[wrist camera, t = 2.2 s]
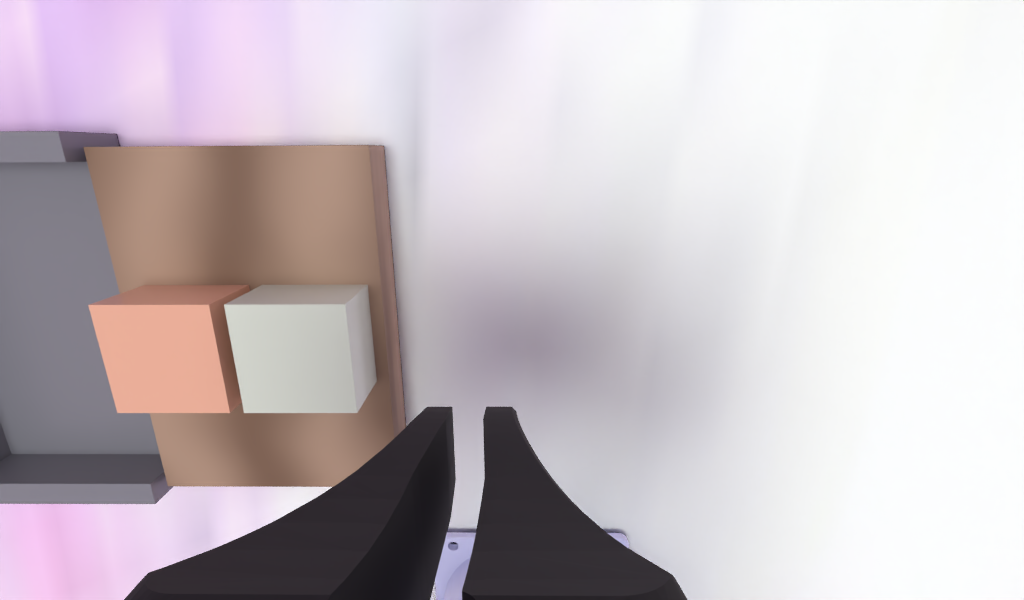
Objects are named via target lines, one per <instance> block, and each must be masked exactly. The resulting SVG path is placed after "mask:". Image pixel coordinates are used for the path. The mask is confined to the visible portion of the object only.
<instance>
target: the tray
mask: <svg viewBox="0 0 1024 600" xmlns="http://www.w3.org/2000/svg"><path fill="white" fill-rule="evenodd" d="M83 147H119V143H118V138H117V134H106V133H85V132H64V131H16V132H0V504H156V503H157V502H158V501H159V500H160V499H161V498H162V497H163V496H164V495H165V494H166V493H167V492H168V491H169V490H170V489H171V488H172V487H173V486H168V485H167V481H166V477H165V473H164V469H163V465H162V461H161V457H160V453H159V449H158V445H157V440H156V436H155V432H154V428H153V424H152V420H151V416H150V413H117V409H116V406H115V402H114V398H113V395H112V391H111V387H110V384H109V380H108V376H107V373H106V369H105V365H104V361H103V358H102V354H101V350H100V347H99V343H98V339H97V336H96V332H95V328H94V325H93V321H92V317H91V314H90V310H89V306H88V305H90V304H92V303H95V302H98V301H101V300H104V299H107V298H109V297H112V296H115V295H118V294H120V292H119V288H118V284H117V280H116V276H115V272H114V268H113V264H112V260H111V256H110V252H109V248H108V244H107V240H106V236H105V232H104V228H103V224H102V220H101V216H100V212H99V208H98V204H97V200H96V196H95V192H94V188H93V184H92V180H91V176H90V172H89V168H88V164H87V160H86V156H85V152H84V148H83Z"/></svg>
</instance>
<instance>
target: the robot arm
mask: <svg viewBox="0 0 1024 600" xmlns="http://www.w3.org/2000/svg"><path fill="white" fill-rule="evenodd" d="M483 422H484V461H485V482H484V488H483V495H482V502H481V508H480V513H479V519H478V525H477V530H476V533H466V532H447V530H448V526H449V522H450V518H451V511H452V504H453V496H454V487H455V457H454V436H453V414H452V407H427V408H425V409H424V410H423V411H422V412H421V413H420V414H419V415H418V416H417V417H416V418H415V419H414V420H413V421H412V422H411V423H410V424H409V425H408V426H407V427H406V428H405V429H404V430H403V431H401V432H400V433H399V434H398V435H397V436H396V437H395V438H394V439H393V440H392V441H391V442H390V443H389V444H388V445H386V446H385V447H384V448H383V449H382V450H381V451H380V452H378V453H377V454H376V455H375V456H373V457H372V458H371V459H370V460H369V461H367V462H366V463H365V464H364V465H363V466H361V467H360V468H359V469H358V470H356V471H355V472H354V473H352V474H351V475H350V476H348V477H347V478H345V479H344V480H343V481H341V482H340V483H338V484H337V485H335V486H334V487H332V488H331V489H329V490H328V491H326V492H325V493H323V494H322V495H320V496H318V497H317V498H315V499H313V500H312V501H310V502H308V503H306V504H305V505H303V506H301V507H299V508H297V509H296V510H294V511H292V512H290V513H288V514H287V515H285V516H283V517H281V518H280V519H278V520H276V521H274V522H272V523H270V524H268V525H266V526H264V527H262V528H260V529H257V530H255V531H253V532H251V533H249V534H247V535H245V536H242V537H240V538H238V539H236V540H233V541H231V542H229V543H227V544H224V545H222V546H219V547H217V548H215V549H212V550H210V551H207V552H204V553H202V554H199V555H196V556H194V557H191V558H188V559H186V560H183V561H180V562H177V563H175V564H172V565H169V566H167V567H164V568H161V569H158V570H155V571H152V572H150V573H148V574H147V575H146V576H145V577H144V578H143V579H142V580H141V581H140V582H139V584H138V585H137V586H136V587H135V588H134V589H133V590H132V591H131V593H130V594H129V595H128V596H127V597H126V598H125V599H124V600H430V597H431V593H432V589H433V586H434V582H435V587H436V600H687V598H686V597H685V595H684V593H683V591H682V590H681V588H680V586H679V584H678V583H677V581H676V579H675V578H674V576H673V575H672V574H670V573H668V572H667V571H665V570H663V569H662V568H660V567H658V566H657V565H655V564H653V563H652V562H650V561H648V560H647V559H645V558H643V557H641V556H640V555H638V554H636V553H635V552H633V551H632V550H630V549H629V543H628V539H627V537H626V536H625V535H624V534H621V533H606V532H605V531H604V530H603V529H601V528H600V527H599V526H598V525H597V524H596V523H595V522H593V521H592V520H591V519H590V518H589V517H588V516H587V515H585V514H584V513H583V512H582V511H581V510H580V509H579V508H578V507H577V506H576V505H575V504H574V503H573V502H572V501H571V500H570V499H569V498H568V496H567V495H566V494H565V493H564V492H563V491H562V490H561V489H560V487H559V486H558V485H557V484H556V482H555V481H554V480H553V479H552V477H551V476H550V475H549V473H548V472H547V470H546V469H545V468H544V466H543V465H542V463H541V462H540V460H539V459H538V457H537V456H536V454H535V452H534V451H533V449H532V447H531V445H530V444H529V442H528V440H527V438H526V436H525V434H524V432H523V430H522V428H521V426H520V423H519V421H518V418H517V414H516V411H515V410H514V409H513V408H512V407H486V410H485V414H484V419H483ZM450 542H456V543H457V544H451V543H450Z"/></svg>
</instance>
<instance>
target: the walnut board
mask: <svg viewBox="0 0 1024 600" xmlns="http://www.w3.org/2000/svg"><path fill="white" fill-rule="evenodd" d="M83 148H84V152H85V156H86V160H87V164H88V168H89V172H90V176H91V180H92V184H93V188H94V192H95V196H96V200H97V204H98V208H99V212H100V216H101V220H102V224H103V228H104V232H105V236H106V240H107V244H108V248H109V252H110V256H111V260H112V264H113V268H114V272H115V276H116V280H117V284H118V288H119V292H120V294H121V293H123V292H126V291H129V290H132V289H135V288H138V287H140V286H143V285H249V288H250V291H251V290H253V289H255V288H257V287H259V286H261V285H368V293H369V303H370V314H371V324H372V335H373V346H374V356H375V367H376V377H377V382H376V383H375V385H374V387H373V388H372V390H371V391H370V393H369V395H368V396H367V398H366V400H365V401H364V403H363V404H362V406H361V408H360V409H359V411H358V413H244V410H243V405H242V403H241V404H239V405H238V406H237V407H236V408H235V409H234V410H233V411H232V412H231V413H150V416H151V420H152V424H153V428H154V432H155V436H156V440H157V445H158V449H159V453H160V457H161V461H162V465H163V469H164V473H165V477H166V481H167V485H168V486H303V487H334V486H335V485H337V484H338V483H340V482H341V481H343V480H344V479H345V478H347V477H348V476H350V475H351V474H352V473H354V472H355V471H356V470H358V469H359V468H360V467H361V466H363V465H364V464H365V463H366V462H367V461H369V460H370V459H371V458H372V457H373V456H375V455H376V454H377V453H378V452H380V451H381V450H382V449H383V448H384V447H385V446H386V445H388V444H389V443H390V442H391V441H392V440H393V439H394V438H395V437H396V436H397V435H398V434H399V433H400V432H401V431H403V430H404V429H405V428H406V421H405V408H404V396H403V383H402V370H401V357H400V344H399V332H398V319H397V306H396V293H395V281H394V268H393V255H392V242H391V229H390V217H389V204H388V191H387V178H386V166H385V153H384V146H375V145H317V146H154V147H83Z"/></svg>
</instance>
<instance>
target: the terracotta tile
mask: <svg viewBox="0 0 1024 600" xmlns="http://www.w3.org/2000/svg"><path fill="white" fill-rule="evenodd" d="M249 291H250V288H249V285H143V286H140V287H138V288H135V289H132V290H129V291H126V292H123V293H121V294H118V295H115V296H112V297H109V298H107V299H104V300H101V301H98V302H95V303H92V304H90V305H88V306H89V310H90V314H91V317H92V321H93V325H94V328H95V332H96V336H97V339H98V343H99V347H100V350H101V354H102V358H103V361H104V365H105V369H106V373H107V376H108V380H109V384H110V387H111V391H112V395H113V398H114V402H115V406H116V409H117V413H231V412H232V411H233V410H234V409H235V408H236V407H237V406H238V405H239V404H241V403H242V399H241V394H240V388H239V383H238V378H237V372H236V367H235V362H234V356H233V351H232V346H231V340H230V335H229V329H228V324H227V319H226V313H225V308H224V304H226V303H228V302H230V301H232V300H234V299H236V298H238V297H240V296H242V295H244V294H245V293H247V292H249Z"/></svg>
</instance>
